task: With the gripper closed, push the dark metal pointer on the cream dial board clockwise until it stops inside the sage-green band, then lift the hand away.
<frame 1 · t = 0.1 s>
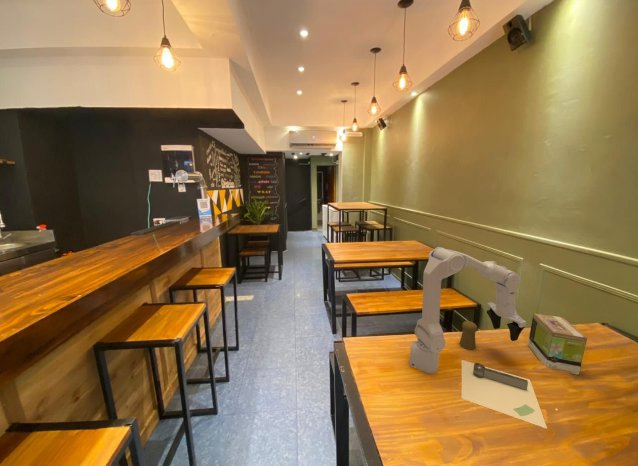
hand: (505, 333, 94), 10 cm above the table, tool pointing down, fingers open, 7 cm apart
pointer: (499, 376, 84), point 3 cm above the table, hinge at 0.0°
cork: (467, 348, 103), on the table
tea box: (551, 359, 97), on the table
dial board: (496, 391, 81), on the table
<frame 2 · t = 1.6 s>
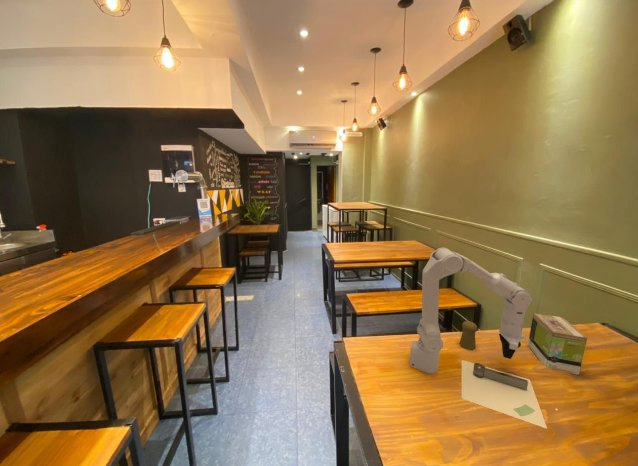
hand: (506, 357, 87), 7 cm above the table, tool pointing down, fingers closed
nothing on the table moved.
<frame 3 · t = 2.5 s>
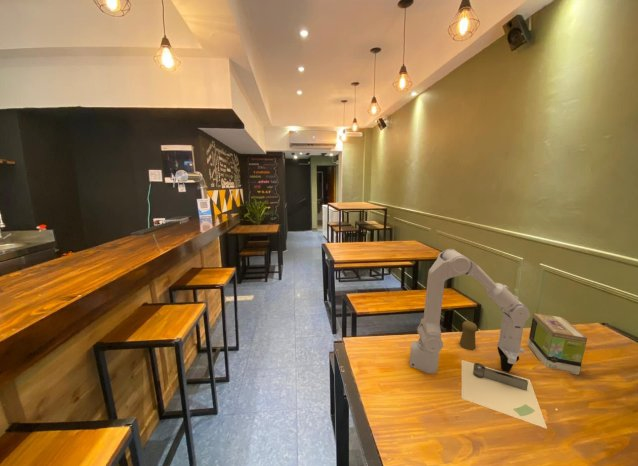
hand: (505, 370, 87), 2 cm above the table, tool pointing down, fingers closed
nothing on the table moved.
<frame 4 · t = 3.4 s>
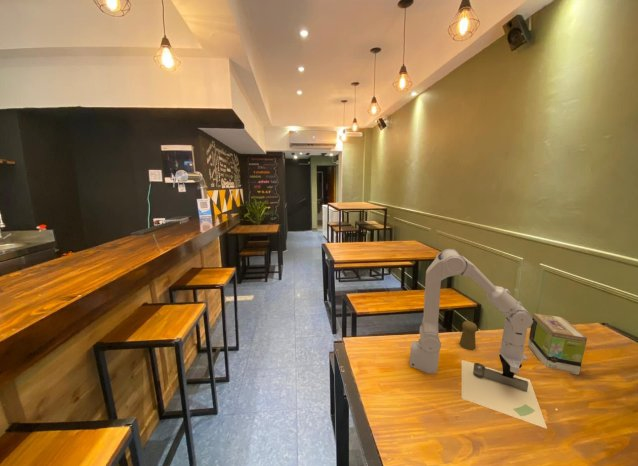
hand: (507, 378, 83), 2 cm above the table, tool pointing down, fingers closed, pressing on pointer
pointer: (499, 376, 83), point 3 cm above the table, hinge at -2.6°, touching gripper
everything else where it was.
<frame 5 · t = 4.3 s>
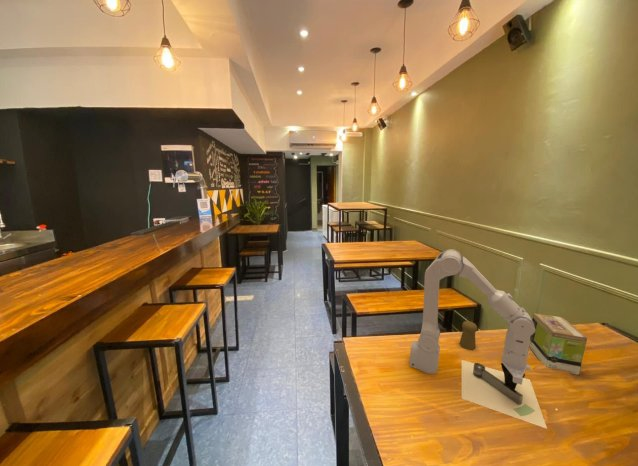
hand: (509, 388, 79), 2 cm above the table, tool pointing down, fingers closed, pressing on pointer
pointer: (495, 382, 81), point 3 cm above the table, hinge at -38.3°, touching gripper
everything else where it was.
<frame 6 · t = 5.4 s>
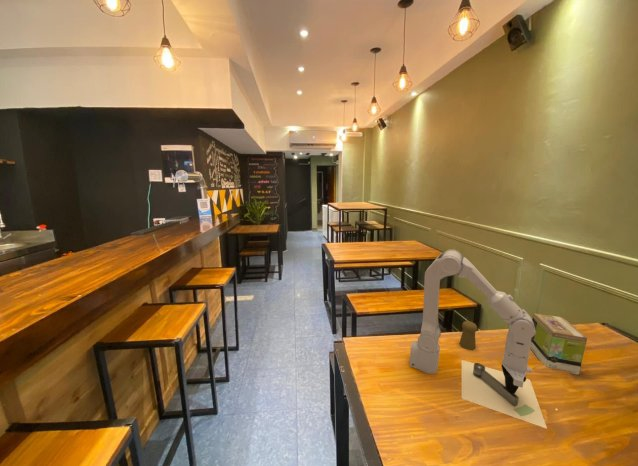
hand: (510, 391, 78), 2 cm above the table, tool pointing down, fingers closed
pointer: (494, 382, 81), point 3 cm above the table, hinge at -46.9°, touching gripper
everything else where it was.
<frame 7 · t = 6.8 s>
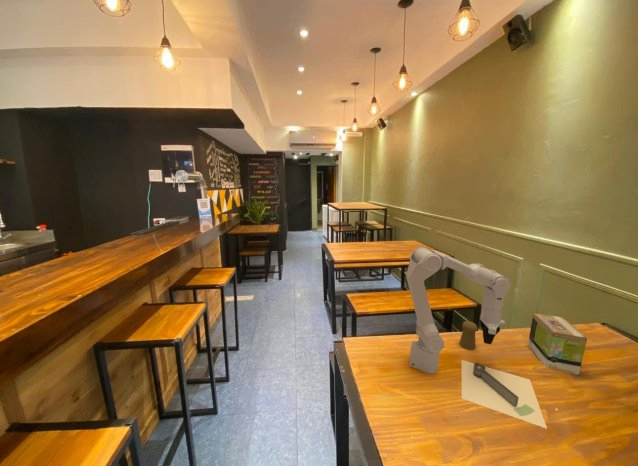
hand: (487, 342, 89), 10 cm above the table, tool pointing down, fingers closed
pointer: (493, 382, 81), point 3 cm above the table, hinge at -47.0°
everything else where it was.
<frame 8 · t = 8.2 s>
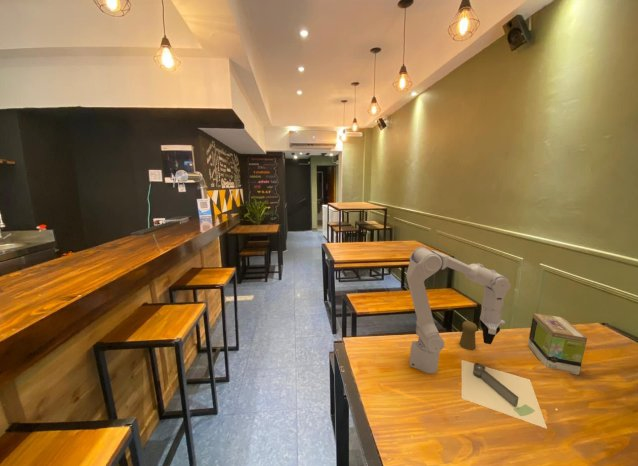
hand: (487, 342, 89), 10 cm above the table, tool pointing down, fingers closed
nothing on the table moved.
at the end: pointer at -47° (first picture: +0°); cork moved 0.2 cm from its start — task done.
